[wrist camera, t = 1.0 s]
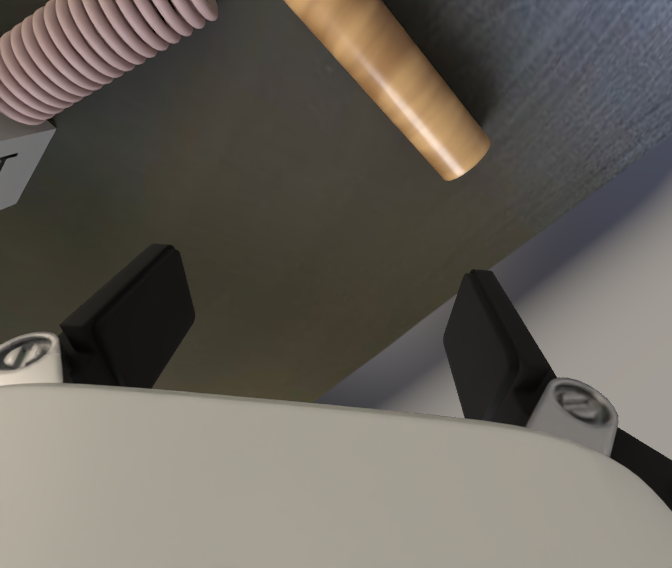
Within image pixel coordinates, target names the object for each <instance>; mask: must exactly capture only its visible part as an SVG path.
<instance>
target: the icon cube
mask: <svg viewBox="0 0 672 568" xmlns="http://www.w3.org/2000/svg"><path fill="white" fill-rule="evenodd" d="M56 129H57V128H56V127H54V126H53V125H52V124H51V123H49V122H48V121H47V120H45V122H43V123H41V124H38V125H28V124H24V123H20V122H18V121H15V120H13V119H11V118H9V117H7V116H6V115H4V114H3V113H1V112H0V210H2V209H4V208H7V207H9V206H11V205H14V204H16V203H17V201H18V199H19V198H20V196H21V194H22V192H23V190H24V188H25V186H26V185H27V183H28V181H29V179H30V177H31V175H32V174H33V172H34V170H35V168H36V166H37V164H38V162H39V161H40V159H41V157H42V155H43V153H44V151H45V149H46V148H47V146H48V144H49V142H50V140H51V138H52V136H53V135H54V133H55V131H56Z"/></svg>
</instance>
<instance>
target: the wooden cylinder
mask: <svg viewBox="0 0 672 568" xmlns="http://www.w3.org/2000/svg"><path fill="white" fill-rule="evenodd" d="M284 2H285V3H286V4H287V5H288V6H289V7H290V8H291V9H292V10H293V12H294V13H295V14H296V15H297V16H298V17H299V18H300V19H301V20H302V22H303V23H304V24H305V25H306V26H307V27H308V28H309V29H310V30H311V32H312V33H313V34H314V35H315V36H316V37H317V38H318V39H319V41H320V42H321V43H322V44H323V45H324V46H325V47H326V48H327V49H328V51H329V52H330V53H331V54H332V55H333V56H334V57H335V58H336V59H337V61H338V62H339V63H340V64H341V65H342V66H343V67H344V68H345V69H346V71H347V72H348V73H349V74H350V75H351V76H352V77H353V78H354V80H355V81H356V82H357V83H358V84H359V85H360V86H361V87H362V88H363V90H364V91H365V92H366V93H367V94H368V95H369V96H370V97H371V98H372V100H373V101H374V102H375V103H376V104H377V105H378V106H379V107H380V108H381V110H382V111H383V112H384V113H385V114H386V115H387V116H388V117H389V119H390V120H391V121H392V122H393V123H394V124H395V125H396V126H397V127H398V129H399V130H400V131H401V132H402V133H403V134H404V135H405V136H406V137H407V139H408V140H409V141H410V142H411V143H412V144H413V145H414V146H415V147H416V149H417V150H418V151H419V152H420V153H421V154H422V155H423V156H424V158H425V159H426V160H427V161H428V162H429V163H430V164H431V165H432V166H433V168H434V169H435V170H436V171H437V172H438V173H439V174H440V175H441V176H442V178H443V179H444V180H447V181H448V180H453V179H456V178H458V177H460V176H461V175H463V174H465V173H466V172H467V171H469V170H470V169H471V168H473V167H474V166H475V165H476V164H477V163H478V162H479V161H480V160H481V159H482V158H483V156H484V155H485V154H486V152H487V151H488V149H489V147H490V144H491V141H490V139H489V138H488V136H487V135H486V134H485V132H484V131H483V130H482V129H481V127H480V126H479V125H478V123H477V122H476V121H475V120H474V118H473V117H472V116H471V114H470V113H469V112H468V111H467V109H466V108H465V107H464V105H463V104H462V103H461V102H460V100H459V99H458V98H457V97H456V95H455V94H454V93H453V91H452V90H451V89H450V88H449V86H448V85H447V84H446V82H445V81H444V80H443V79H442V77H441V76H440V75H439V73H438V72H437V71H436V70H435V68H434V67H433V66H432V64H431V63H430V62H429V61H428V59H427V58H426V57H425V55H424V54H423V53H422V52H421V50H420V49H419V48H418V46H417V45H416V44H415V43H414V41H413V40H412V39H411V38H410V36H409V35H408V34H407V32H406V31H405V30H404V29H403V27H402V26H401V25H400V23H399V22H398V21H397V20H396V18H395V17H394V16H393V14H392V13H391V12H390V11H389V9H388V8H387V7H386V5H385V4H384V3H383V2H382V0H284Z"/></svg>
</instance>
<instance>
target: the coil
mask: <svg viewBox="0 0 672 568" xmlns="http://www.w3.org/2000/svg"><path fill="white" fill-rule="evenodd" d="M152 1H153V3H154V4H155V6H156V7H157V9H158V10H159V12H160V13H161V15H162V16H163V17H164V19H165V21H166V23H167V25H166V24H165V23H164V22H163V20H162V18H161V16H160V14H159V13H158V11H157V9H156V8H155V6H154V5H153V3H152V2H151V1H150V0H134V1H133V0H116V2H117V3H116V2H115V1H114V0H50V1H48V2H47V3H46V5H45V7H41V8H39V9H37V10H36V11H35V12H34V15H30V16H29V17H27V18H25V19H24V20H23V23H19V24H17V25H16V26H14V27H13V29H12V30H10V31H8V32H6V33H5V34H4V35H3V36H2V37H1V38H0V112H1V113H3V114H4V115H6V116H7V117H9V118H11V119H13V120H15V121H18V122H20V123H24V124H28V125H38V124H41V123H43V122H45V120H46V119H49V118H52V117H53V116H54V115H55V114H57V113H60V112H62V111H63V110H64V108H68V107H70V106H72V105H73V103H74V102H78V101H80V100H82V99H83V97H84V96H88V95H90V94H92V93H93V91H94V90H98V89H101V88H102V87H103V85H104V84H108V83H111V82H112V81H113V79H114V78H117V77H120V76H122V75H123V74H124V72H125V71H130V70H132V69H133V68H134V67H135V65H136V64H137V65H139V64H142V63H144V62H145V60H146V58H147V57H148V58H151V57H154V56H155V55H156V54H157V52H158V50H160V51H163V50H166V49H167V48H168V46H169V42H170V43H173V44H174V43H178V42H179V41H180V39H181V35H183V36H189V35H191V34H192V32H193V27H195V28H197V29H200V28H203V27H204V25H205V23H206V19H207V20H210V21H215V20H216V19H217V17H218V6H217V3H216V0H171V2H172V4H173V6H174V7H175V9H176V11H177V13H176V12H175V11H174V9H173V8H172V6H171V5H170V3H169V2H168V0H152ZM134 2H135V3H134ZM98 3H99V4H100V5H101V6H100V5H99V4H98ZM177 14H178V15H177ZM151 27H152V28H153V29H154V31H155V32H156V34H155V33H154V32H153V30H152V28H151ZM143 40H144V41H145V42H144V41H143ZM72 46H73V47H74V48H75V49H76V50H77V51H78V52H77V51H76V50H75V49H74V48H73V47H72ZM57 48H58V49H59V50H58V49H57ZM79 54H80V55H81V56H82V57H83V58H84V60H85V61H86V62H85V61H84V60H83V58H82V57H81V56H80V55H79ZM77 70H78V71H77Z"/></svg>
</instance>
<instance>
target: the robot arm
mask: <svg viewBox="0 0 672 568" xmlns="http://www.w3.org/2000/svg"><path fill="white" fill-rule="evenodd" d="M194 319H195V311H194V307H193V303H192V299H191V295H190V291H189V287H188V283H187V279H186V275H185V271H184V267H183V263H182V259H181V255H180V252H179V251H178V250H175V248H174V247H173V246H172V245H166V244H151V245H150V246H149V247H147V248H146V249H145V250H144V251H143V252H142V253H141V254H139V255H138V256H137V257H136V258H135V259H134V260H133V261H131V262H130V263H129V264H128V265H127V266H126V267H125V268H123V269H122V270H121V271H120V272H119V273H118V274H117V275H116V276H114V277H113V278H112V279H111V280H110V281H109V282H108V283H106V284H105V285H104V286H103V287H102V288H101V289H100V290H98V291H97V292H96V293H95V294H94V295H93V296H92V297H90V298H89V299H88V300H87V301H86V302H85V303H84V304H82V305H81V306H80V307H79V308H78V309H77V310H76V311H75V312H73V313H72V314H71V315H70V316H69V317H68V318H67V319H65V320H64V321H63V322H62V323H61V324H60V327H61V328H62V330H63V332H62V333H61V334H60V335H59V336H57V335H55V334H53V333H49V332H34V333H29V334H25V335H21V336H19V337H16V338H13V339H11V340H9V341H7V342H5V343H3V344H1V345H0V568H672V460H670V459H668V458H667V457H665V456H664V455H662V454H661V453H659V452H657V451H656V450H654V449H652V448H651V447H649V446H647V445H646V444H644V443H643V442H641V441H639V440H638V439H636V438H634V437H633V436H631V435H630V434H628V433H626V432H625V431H623V430H621V429H620V428H618V414H617V412H616V410H615V408H614V406H613V405H612V404H611V403H610V401H609V400H608V399H607V398H606V397H605V396H604V395H602V394H601V393H600V392H599V391H597V390H596V389H594V388H593V387H591V386H589V385H587V384H585V383H583V382H581V381H578V380H574V379H570V378H557V377H556V375H555V374H554V372H553V370H552V369H551V367H550V365H549V363H548V362H547V360H546V359H545V357H544V355H543V354H542V352H541V350H540V349H539V347H538V345H537V344H536V342H535V341H534V339H533V337H532V336H531V334H530V332H529V331H528V329H527V327H526V326H525V325H524V323H523V321H522V319H521V318H520V316H519V314H518V313H517V311H516V310H515V308H514V306H513V305H512V303H511V301H510V300H509V298H508V296H507V295H506V293H505V292H504V290H503V288H502V287H501V285H500V283H499V282H498V280H497V278H496V277H495V275H494V274H493V272H492V271H486V270H474V269H473V270H471V272H470V273H469V274H468V273H466V274H465V275H464V276H463V279H462V282H461V285H460V288H459V291H458V294H457V297H456V300H455V303H454V306H453V309H452V312H451V315H450V318H449V321H448V324H447V327H446V330H445V333H444V338H443V342H444V347H445V351H446V354H447V357H448V361H449V364H450V368H451V372H452V375H453V379H454V382H455V386H456V389H457V393H458V396H459V400H460V403H461V406H462V410H463V413H464V417H465V418H456V417H447V416H438V415H430V414H420V413H409V412H399V411H389V410H379V409H378V410H377V409H367V408H358V407H348V406H337V405H326V404H316V403H305V402H294V401H283V400H272V399H261V398H250V397H239V396H228V395H217V394H205V393H193V392H182V391H170V390H158V389H151V388H152V387H153V385H154V383H155V382H156V380H157V379H158V377H159V376H160V374H161V373H162V371H163V369H164V368H165V366H166V365H167V363H168V362H169V360H170V358H171V357H172V355H173V354H174V352H175V351H176V349H177V348H178V346H179V344H180V343H181V341H182V340H183V338H184V337H185V335H186V333H187V332H188V330H189V329H190V327H191V326H192V324H193V322H194Z"/></svg>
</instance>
